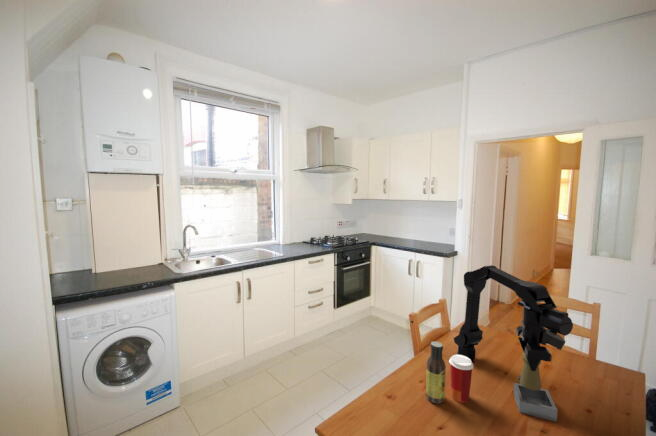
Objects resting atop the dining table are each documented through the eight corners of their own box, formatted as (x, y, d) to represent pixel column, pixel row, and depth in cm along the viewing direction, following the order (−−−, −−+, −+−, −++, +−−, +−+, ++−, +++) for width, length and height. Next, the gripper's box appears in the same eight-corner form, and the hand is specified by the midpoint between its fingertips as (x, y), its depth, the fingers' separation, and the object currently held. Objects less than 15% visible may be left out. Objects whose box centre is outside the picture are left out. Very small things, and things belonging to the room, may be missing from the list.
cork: (534, 379, 101) (535, 349, 100) (545, 391, 95) (547, 359, 94) (516, 378, 101) (517, 348, 100) (526, 389, 95) (527, 358, 94)
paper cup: (470, 392, 104) (471, 355, 103) (473, 407, 97) (475, 368, 96) (447, 387, 107) (448, 352, 105) (448, 402, 99) (449, 363, 98)
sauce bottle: (445, 406, 97) (447, 350, 96) (425, 402, 99) (427, 347, 97) (443, 394, 103) (445, 341, 102) (425, 390, 105) (427, 338, 103)
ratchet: (519, 415, 95) (520, 401, 94) (508, 380, 112) (509, 368, 112) (556, 424, 91) (557, 410, 90) (539, 387, 108) (540, 375, 108)
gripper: (574, 339, 85) (571, 389, 86) (553, 315, 102) (551, 357, 103) (528, 332, 89) (526, 380, 90) (516, 310, 106) (515, 351, 107)
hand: (531, 366), depth 97 cm, fingers closed on cork, 5 cm apart
